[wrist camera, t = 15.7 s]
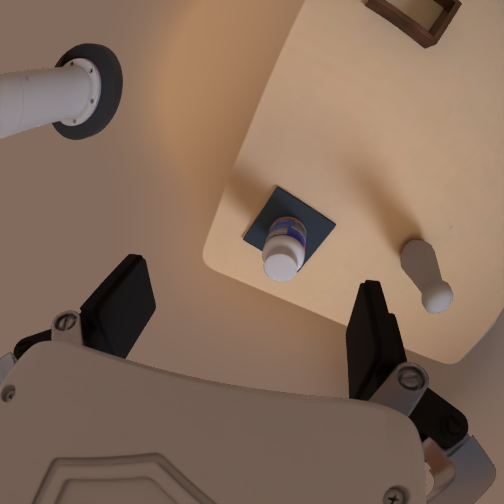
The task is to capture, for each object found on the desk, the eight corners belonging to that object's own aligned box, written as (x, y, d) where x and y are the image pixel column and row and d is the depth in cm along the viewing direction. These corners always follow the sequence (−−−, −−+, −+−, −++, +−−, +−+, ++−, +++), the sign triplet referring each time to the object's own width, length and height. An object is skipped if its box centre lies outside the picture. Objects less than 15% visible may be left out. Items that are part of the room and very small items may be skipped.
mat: (243, 238, 44) (242, 239, 44) (277, 186, 39) (277, 187, 39) (297, 271, 45) (297, 272, 45) (335, 224, 40) (336, 225, 40)
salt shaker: (435, 243, 38) (468, 293, 27) (417, 271, 41) (441, 326, 30) (408, 228, 38) (438, 278, 27) (390, 258, 41) (410, 314, 30)
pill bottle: (312, 241, 42) (311, 279, 34) (279, 253, 44) (270, 292, 36) (296, 209, 40) (292, 241, 32) (263, 223, 42) (250, 257, 34)
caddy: (365, 5, 24) (370, -4, 20) (393, -32, 19) (400, -43, 15) (424, 48, 25) (436, 44, 21) (450, 9, 20) (462, 3, 16)
